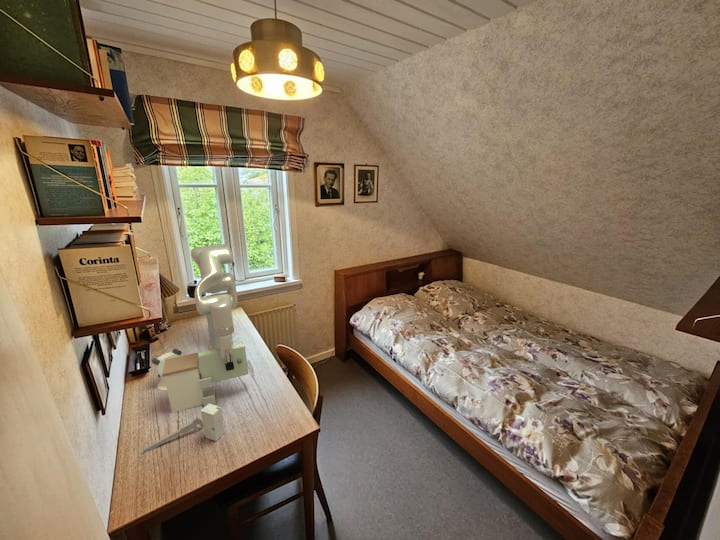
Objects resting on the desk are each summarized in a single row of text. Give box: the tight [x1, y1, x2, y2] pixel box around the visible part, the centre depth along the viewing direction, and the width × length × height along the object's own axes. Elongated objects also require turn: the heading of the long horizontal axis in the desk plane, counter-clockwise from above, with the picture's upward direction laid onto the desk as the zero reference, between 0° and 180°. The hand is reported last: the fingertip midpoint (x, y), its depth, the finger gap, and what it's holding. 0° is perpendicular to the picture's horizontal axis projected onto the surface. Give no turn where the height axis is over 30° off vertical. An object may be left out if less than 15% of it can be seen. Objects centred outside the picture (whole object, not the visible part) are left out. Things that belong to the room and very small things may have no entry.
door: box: [197, 342, 249, 384], centre depth 133 cm, size 4×18×14 cm, turn 115°
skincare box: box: [200, 403, 225, 442], centre depth 116 cm, size 6×4×12 cm
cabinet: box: [162, 352, 217, 414], centre depth 133 cm, size 12×17×19 cm
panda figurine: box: [151, 348, 182, 392], centre depth 145 cm, size 12×11×15 cm
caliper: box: [140, 416, 204, 455], centre depth 115 cm, size 20×1×6 cm, turn 124°
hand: (229, 367), depth 135 cm, fingers closed on door, 3 cm apart
